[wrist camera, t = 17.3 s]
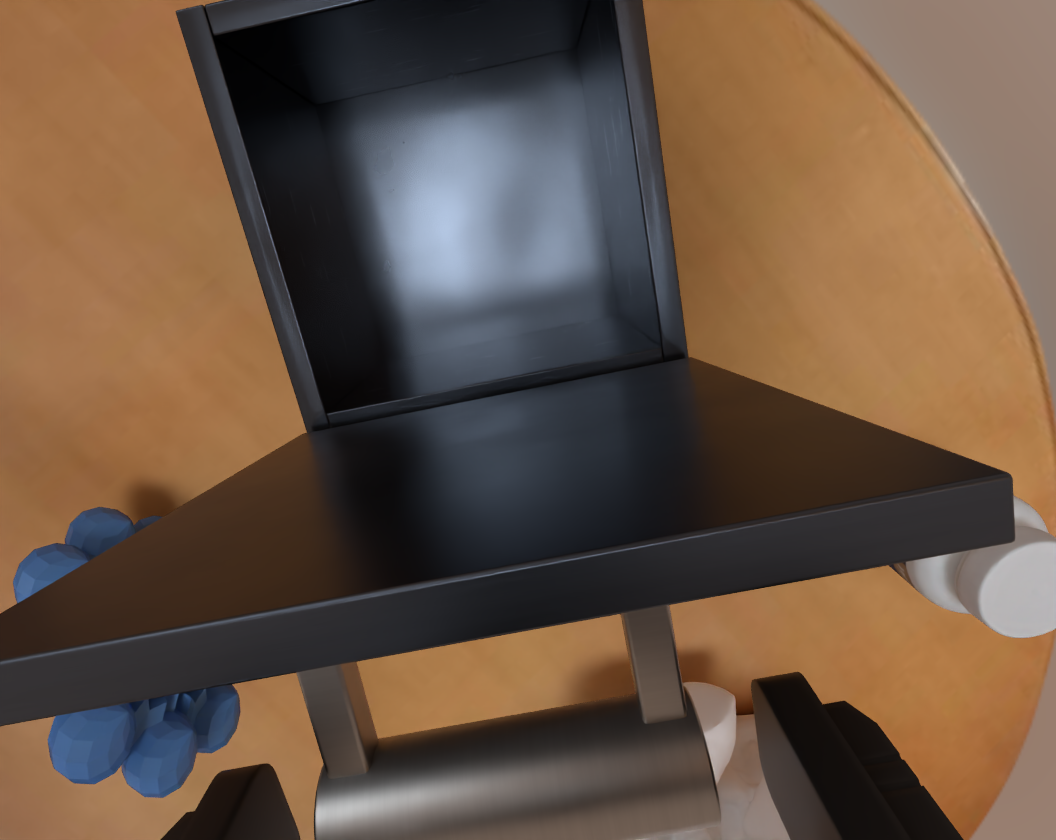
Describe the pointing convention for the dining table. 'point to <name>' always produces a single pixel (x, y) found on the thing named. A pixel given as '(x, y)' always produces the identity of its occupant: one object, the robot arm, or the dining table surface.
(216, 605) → the lid
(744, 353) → the dining table surface
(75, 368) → the dining table surface
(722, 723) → the white lumpy sculpture
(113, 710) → the grapes
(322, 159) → the black hinged box
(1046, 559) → the pill bottle
